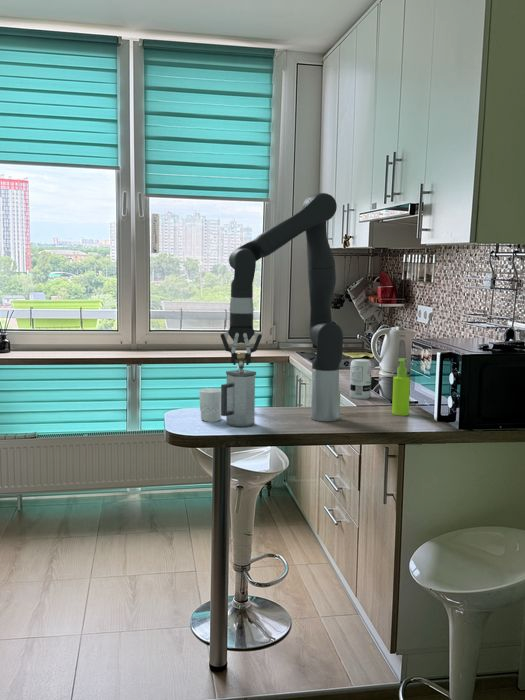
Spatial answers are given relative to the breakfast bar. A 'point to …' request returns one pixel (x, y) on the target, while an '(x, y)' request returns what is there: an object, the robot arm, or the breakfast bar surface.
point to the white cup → (210, 404)
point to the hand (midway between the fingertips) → (240, 364)
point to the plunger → (241, 360)
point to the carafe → (239, 399)
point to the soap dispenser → (401, 390)
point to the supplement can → (360, 379)
